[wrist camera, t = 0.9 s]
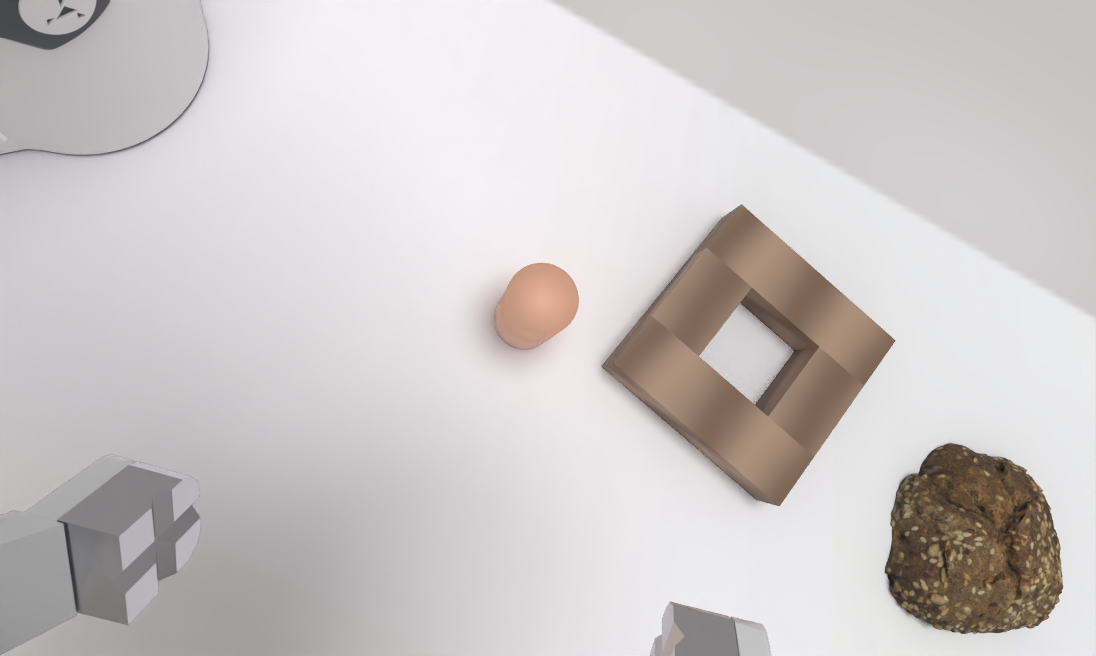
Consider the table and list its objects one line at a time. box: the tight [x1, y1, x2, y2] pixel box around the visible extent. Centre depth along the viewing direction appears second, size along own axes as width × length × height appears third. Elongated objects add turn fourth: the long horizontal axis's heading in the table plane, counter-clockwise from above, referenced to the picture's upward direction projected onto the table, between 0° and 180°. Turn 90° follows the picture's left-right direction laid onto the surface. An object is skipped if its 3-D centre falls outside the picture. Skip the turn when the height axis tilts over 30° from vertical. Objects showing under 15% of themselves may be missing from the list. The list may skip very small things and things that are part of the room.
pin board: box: [602, 204, 895, 506], centre depth 44 cm, size 14×14×3 cm
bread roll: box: [885, 443, 1063, 634], centre depth 45 cm, size 13×12×5 cm
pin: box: [494, 263, 579, 349], centre depth 40 cm, size 4×4×8 cm
